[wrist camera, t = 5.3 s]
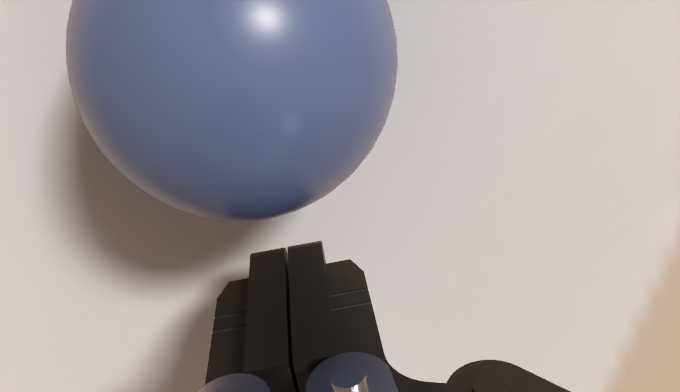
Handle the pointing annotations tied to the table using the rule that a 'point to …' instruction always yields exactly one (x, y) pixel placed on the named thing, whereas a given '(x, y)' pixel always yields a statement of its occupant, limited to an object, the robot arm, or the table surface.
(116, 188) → the table surface
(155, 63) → the blue ball
